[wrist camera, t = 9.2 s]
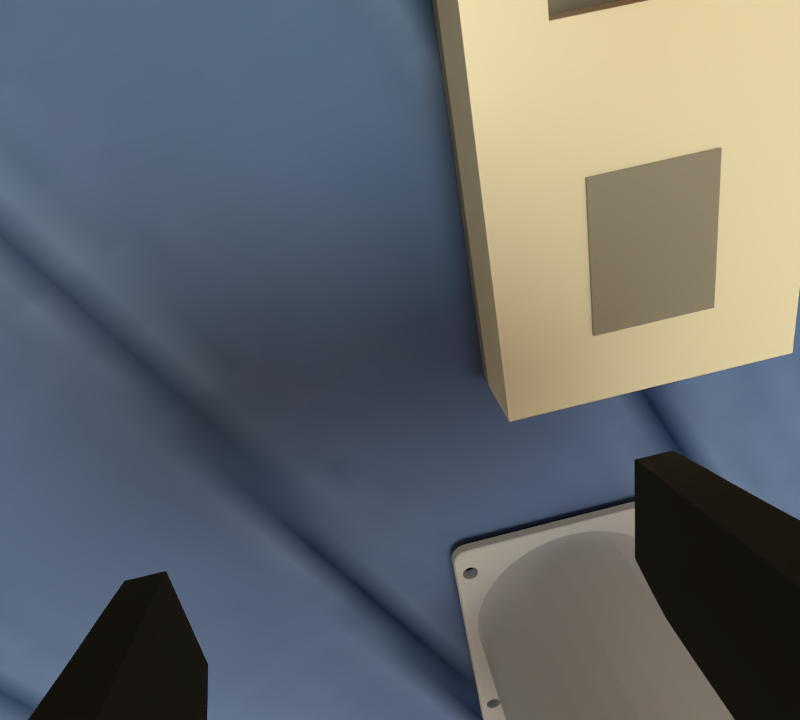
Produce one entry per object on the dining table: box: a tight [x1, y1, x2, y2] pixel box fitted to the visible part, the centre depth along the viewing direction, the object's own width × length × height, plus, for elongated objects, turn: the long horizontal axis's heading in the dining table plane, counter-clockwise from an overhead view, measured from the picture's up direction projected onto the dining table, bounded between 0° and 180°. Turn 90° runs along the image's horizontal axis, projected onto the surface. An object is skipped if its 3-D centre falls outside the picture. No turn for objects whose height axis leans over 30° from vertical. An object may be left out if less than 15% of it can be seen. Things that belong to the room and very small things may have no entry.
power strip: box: [432, 0, 800, 422], centre depth 15 cm, size 18×8×3 cm, turn 10°
